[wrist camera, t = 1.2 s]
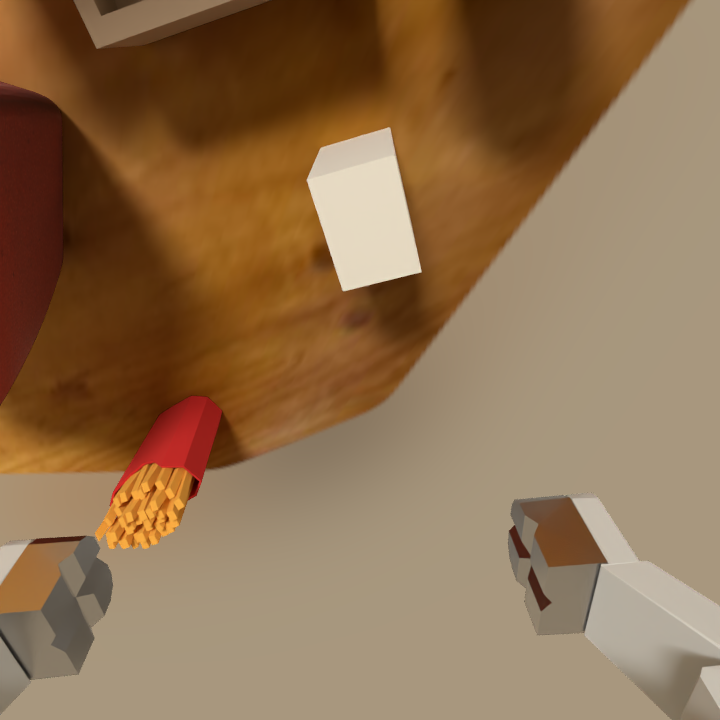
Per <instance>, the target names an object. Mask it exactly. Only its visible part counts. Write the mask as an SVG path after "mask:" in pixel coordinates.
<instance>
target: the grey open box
mask: <svg viewBox="0 0 720 720" xmlns="http://www.w3.org/2000/svg"><path fill="white" fill-rule="evenodd" d="M73 1H74V3H75V5H76V7H77V9H78V11H79V13H80V15H81V17H82V19H83V21H84V23H85V26H86V28H87V30H88V32H89V34H90V36H91V38H92V40H93V42H94V44H95V46H96V48H97V49H102V48H115V47H129V46H143V45H146V44H149V43H152V42H155V41H158V40H160V39H163V38H166V37H169V36H172V35H174V34H177V33H180V32H183V31H186V30H189V29H191V28H194V27H197V26H200V25H203V24H206V23H208V22H211V21H214V20H217V19H220V18H223V17H225V16H228V15H231V14H234V13H237V12H239V11H242V10H245V9H248V8H251V7H254V6H256V5H259V4H262V3H265V2H268V1H271V0H73Z"/></svg>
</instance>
